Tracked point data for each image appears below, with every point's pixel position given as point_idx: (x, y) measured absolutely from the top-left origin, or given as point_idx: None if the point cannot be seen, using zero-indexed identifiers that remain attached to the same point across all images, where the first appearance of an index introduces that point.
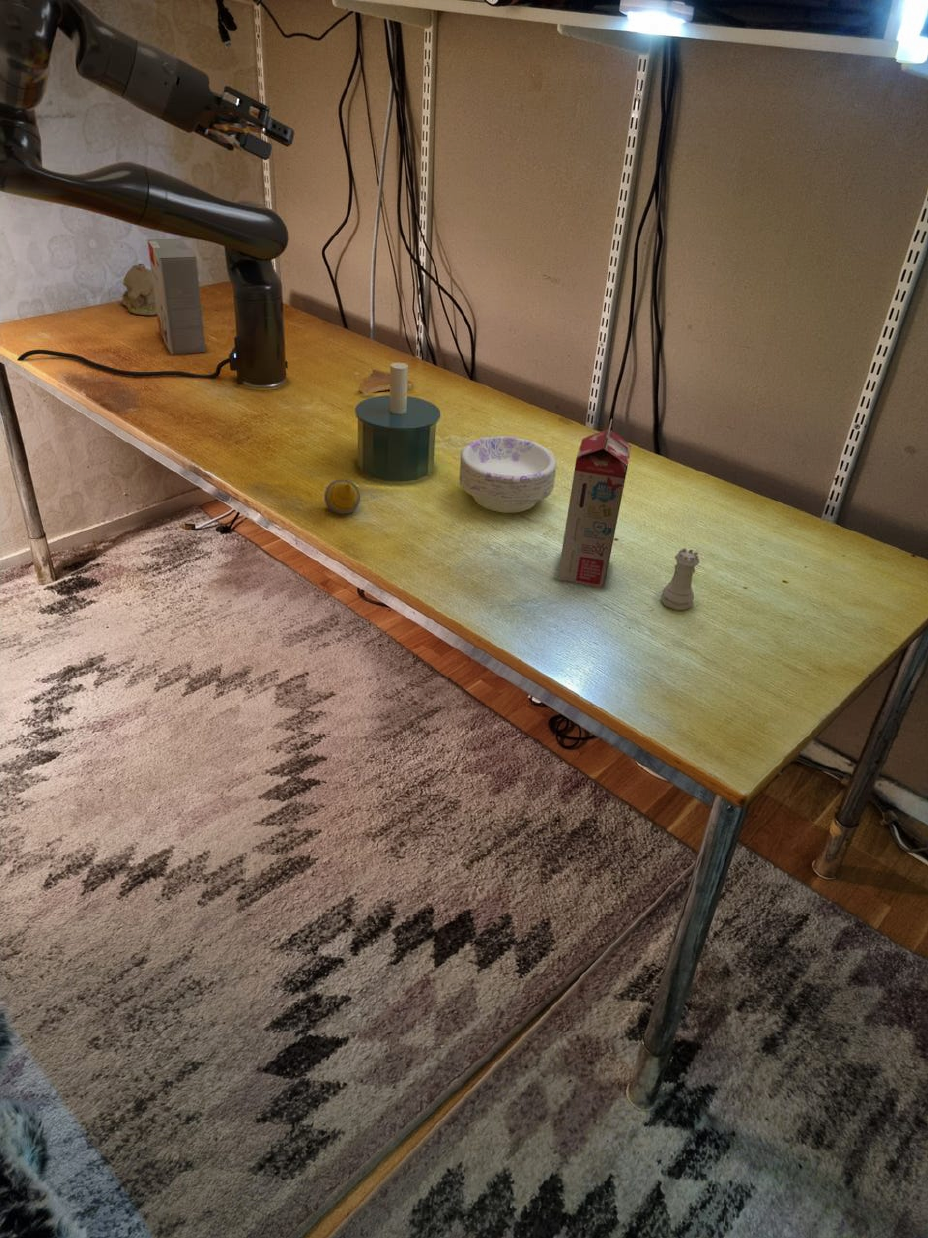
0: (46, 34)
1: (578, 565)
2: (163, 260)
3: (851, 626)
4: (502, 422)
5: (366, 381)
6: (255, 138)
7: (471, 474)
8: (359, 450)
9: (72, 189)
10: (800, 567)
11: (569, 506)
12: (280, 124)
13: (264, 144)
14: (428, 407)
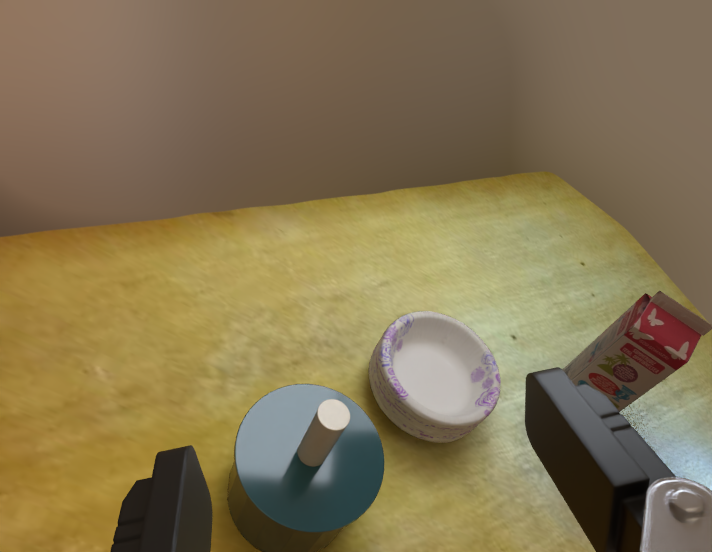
0: None
1: None
2: None
3: (638, 268)
4: (192, 275)
5: None
6: (180, 541)
7: (463, 428)
8: (293, 547)
9: None
10: (561, 239)
11: (645, 392)
12: (635, 435)
13: (190, 489)
14: (310, 397)
